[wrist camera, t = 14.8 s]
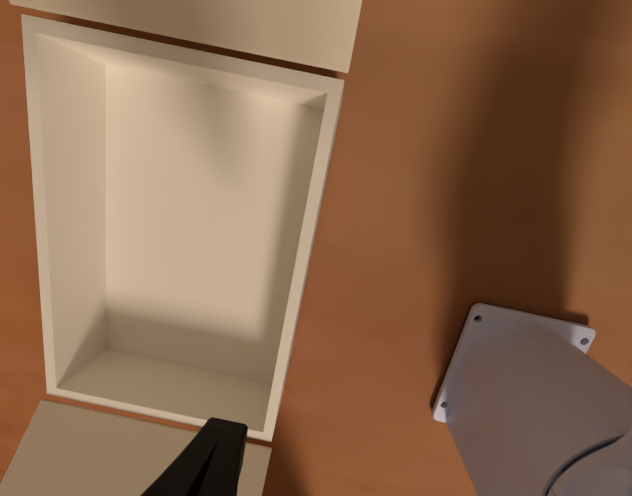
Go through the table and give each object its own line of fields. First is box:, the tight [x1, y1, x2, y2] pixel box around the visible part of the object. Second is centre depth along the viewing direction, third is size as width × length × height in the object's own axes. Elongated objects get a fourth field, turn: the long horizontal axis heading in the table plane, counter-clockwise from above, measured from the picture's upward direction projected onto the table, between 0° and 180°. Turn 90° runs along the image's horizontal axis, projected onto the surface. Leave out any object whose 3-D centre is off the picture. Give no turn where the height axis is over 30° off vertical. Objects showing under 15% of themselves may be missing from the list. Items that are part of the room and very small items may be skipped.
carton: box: [21, 14, 344, 442], centre depth 17 cm, size 20×14×4 cm
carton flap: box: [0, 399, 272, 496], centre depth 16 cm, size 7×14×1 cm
